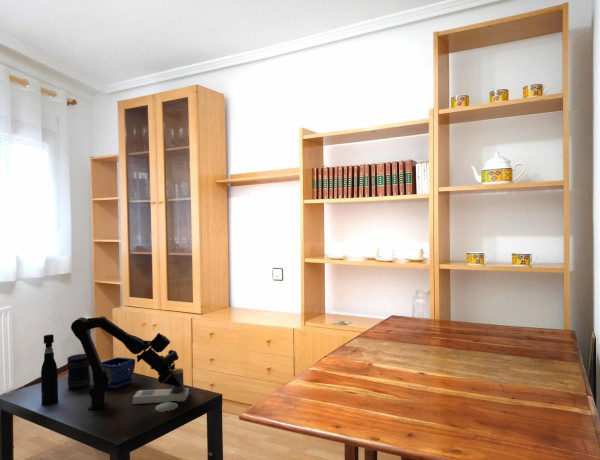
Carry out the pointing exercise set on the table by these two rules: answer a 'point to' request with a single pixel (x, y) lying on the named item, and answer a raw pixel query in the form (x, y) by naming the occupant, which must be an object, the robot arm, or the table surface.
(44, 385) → the wine bottle
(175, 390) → the plug
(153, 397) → the power strip
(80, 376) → the storage jar
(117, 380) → the flower pot
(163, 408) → the rubber mat
